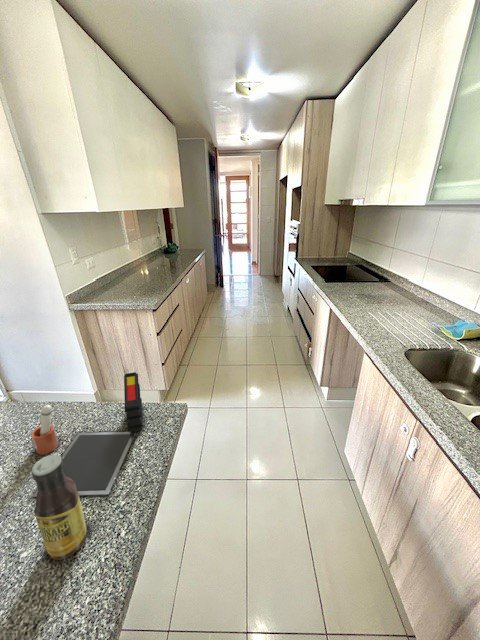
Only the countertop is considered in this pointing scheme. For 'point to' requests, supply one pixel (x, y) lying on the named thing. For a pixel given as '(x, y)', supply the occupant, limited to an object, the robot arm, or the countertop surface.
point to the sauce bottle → (58, 508)
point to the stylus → (45, 419)
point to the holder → (44, 440)
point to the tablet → (95, 460)
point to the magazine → (133, 402)
